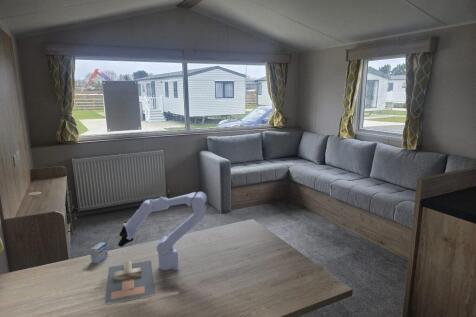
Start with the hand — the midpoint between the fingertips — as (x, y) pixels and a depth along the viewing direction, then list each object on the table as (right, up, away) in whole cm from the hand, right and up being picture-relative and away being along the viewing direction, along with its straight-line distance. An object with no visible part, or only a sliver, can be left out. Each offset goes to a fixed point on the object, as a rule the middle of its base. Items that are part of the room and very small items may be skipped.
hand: (120, 240), depth 152 cm
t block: (+5, -14, -4) cm, 16 cm away
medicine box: (-14, -13, +9) cm, 21 cm away
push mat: (+8, -16, -9) cm, 20 cm away
